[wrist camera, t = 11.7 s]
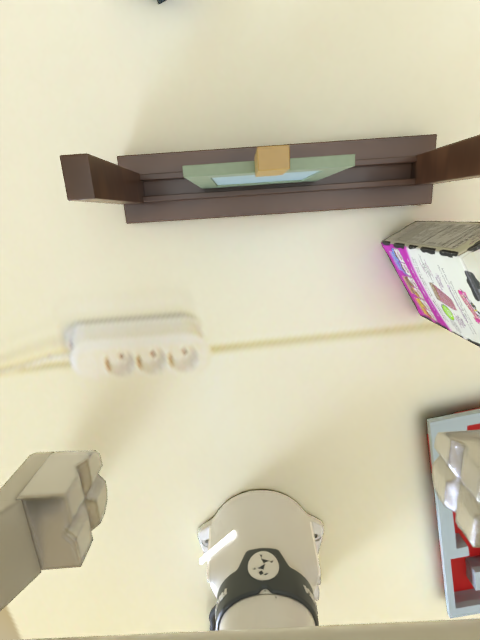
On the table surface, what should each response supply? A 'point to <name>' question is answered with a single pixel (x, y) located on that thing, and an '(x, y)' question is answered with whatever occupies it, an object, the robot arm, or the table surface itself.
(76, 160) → the window frame
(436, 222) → the candy bar box
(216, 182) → the window pane
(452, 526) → the maze game
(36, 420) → the table surface
